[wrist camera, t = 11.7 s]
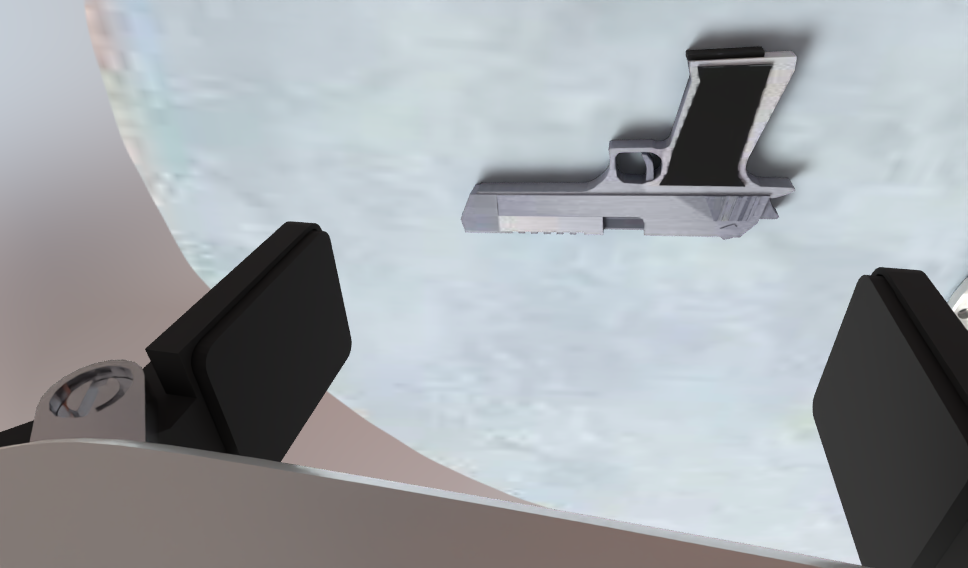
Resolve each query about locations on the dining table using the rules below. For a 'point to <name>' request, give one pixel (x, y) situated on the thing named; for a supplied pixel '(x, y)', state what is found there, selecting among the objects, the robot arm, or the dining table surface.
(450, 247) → the dining table surface
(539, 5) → the dining table surface
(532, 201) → the handgun
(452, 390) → the dining table surface
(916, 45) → the dining table surface
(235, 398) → the robot arm
